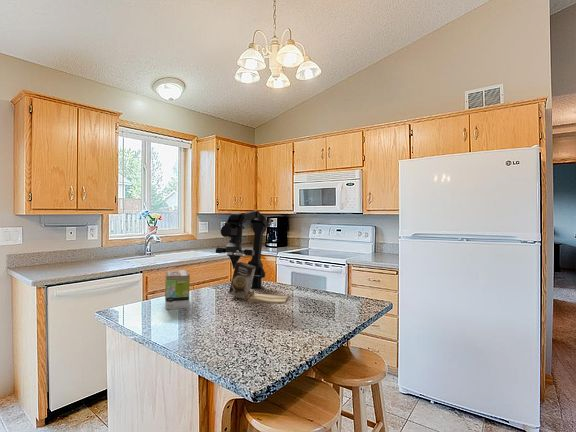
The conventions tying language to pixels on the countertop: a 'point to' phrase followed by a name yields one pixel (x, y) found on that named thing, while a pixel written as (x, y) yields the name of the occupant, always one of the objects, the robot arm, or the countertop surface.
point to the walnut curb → (249, 295)
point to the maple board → (268, 298)
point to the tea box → (177, 289)
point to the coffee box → (242, 280)
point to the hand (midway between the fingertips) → (233, 268)
